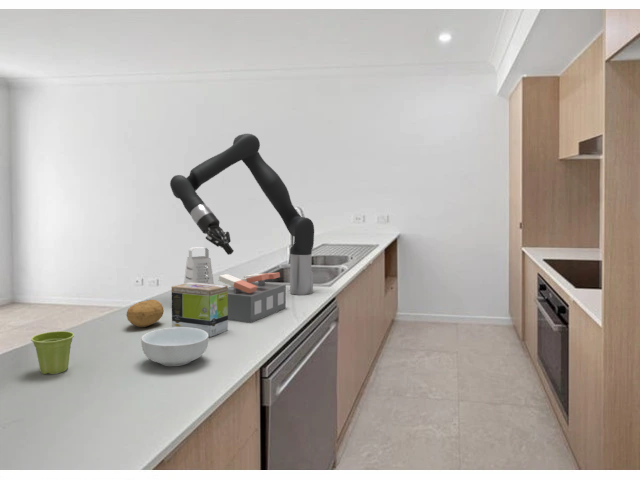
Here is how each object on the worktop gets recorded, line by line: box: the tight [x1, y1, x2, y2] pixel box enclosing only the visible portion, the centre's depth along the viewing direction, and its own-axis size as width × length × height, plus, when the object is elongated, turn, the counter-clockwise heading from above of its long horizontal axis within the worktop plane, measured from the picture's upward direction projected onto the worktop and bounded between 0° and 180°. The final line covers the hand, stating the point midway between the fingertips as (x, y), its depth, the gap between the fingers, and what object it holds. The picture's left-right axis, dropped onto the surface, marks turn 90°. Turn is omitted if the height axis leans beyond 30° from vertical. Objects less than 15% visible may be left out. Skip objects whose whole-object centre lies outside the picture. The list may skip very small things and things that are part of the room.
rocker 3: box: [243, 272, 281, 281], centre depth 201 cm, size 5×13×2 cm, turn 66°
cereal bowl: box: [140, 327, 209, 367], centre depth 139 cm, size 17×17×7 cm
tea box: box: [171, 282, 229, 338], centre depth 168 cm, size 15×10×15 cm, turn 65°
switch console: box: [228, 280, 287, 323], centre depth 197 cm, size 31×16×11 cm, turn 156°
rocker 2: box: [240, 273, 269, 283], centre depth 194 cm, size 5×13×2 cm, turn 66°
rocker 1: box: [218, 273, 257, 293], centre depth 186 cm, size 5×13×2 cm, turn 66°
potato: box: [125, 299, 165, 328], centre depth 174 cm, size 10×14×8 cm
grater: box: [183, 246, 215, 284], centre depth 226 cm, size 10×10×20 cm
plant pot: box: [30, 330, 75, 375], centre depth 131 cm, size 9×9×9 cm
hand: (231, 253), depth 198 cm, fingers closed
